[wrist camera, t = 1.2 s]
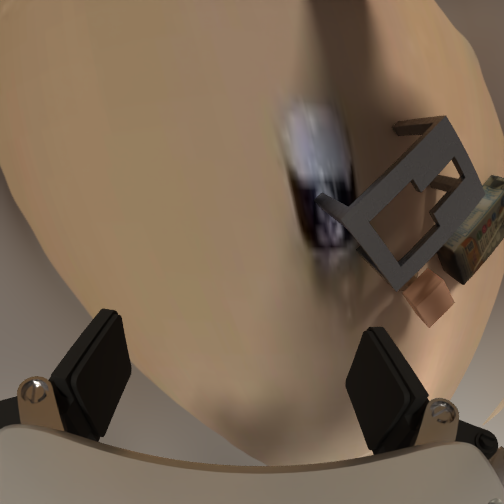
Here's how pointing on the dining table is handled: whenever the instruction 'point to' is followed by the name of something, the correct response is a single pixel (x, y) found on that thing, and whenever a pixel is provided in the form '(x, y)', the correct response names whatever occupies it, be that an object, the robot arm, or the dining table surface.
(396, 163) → the keyhole rack
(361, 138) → the dining table surface
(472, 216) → the beverage carton
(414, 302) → the t peg
